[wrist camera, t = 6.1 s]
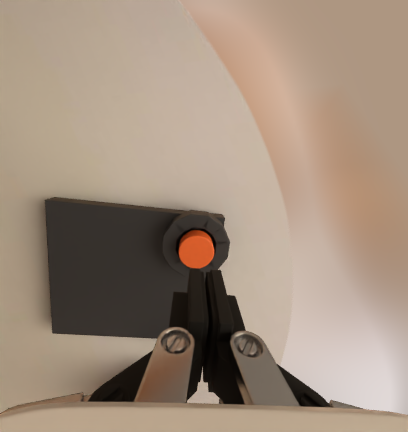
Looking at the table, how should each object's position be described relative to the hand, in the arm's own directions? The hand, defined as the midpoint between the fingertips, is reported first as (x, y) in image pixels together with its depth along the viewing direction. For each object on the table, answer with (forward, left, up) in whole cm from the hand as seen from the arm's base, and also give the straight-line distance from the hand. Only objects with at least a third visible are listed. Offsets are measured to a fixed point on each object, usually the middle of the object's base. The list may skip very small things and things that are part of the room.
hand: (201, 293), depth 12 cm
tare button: (0, +1, -8) cm, 8 cm away
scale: (+6, +5, -11) cm, 13 cm away
